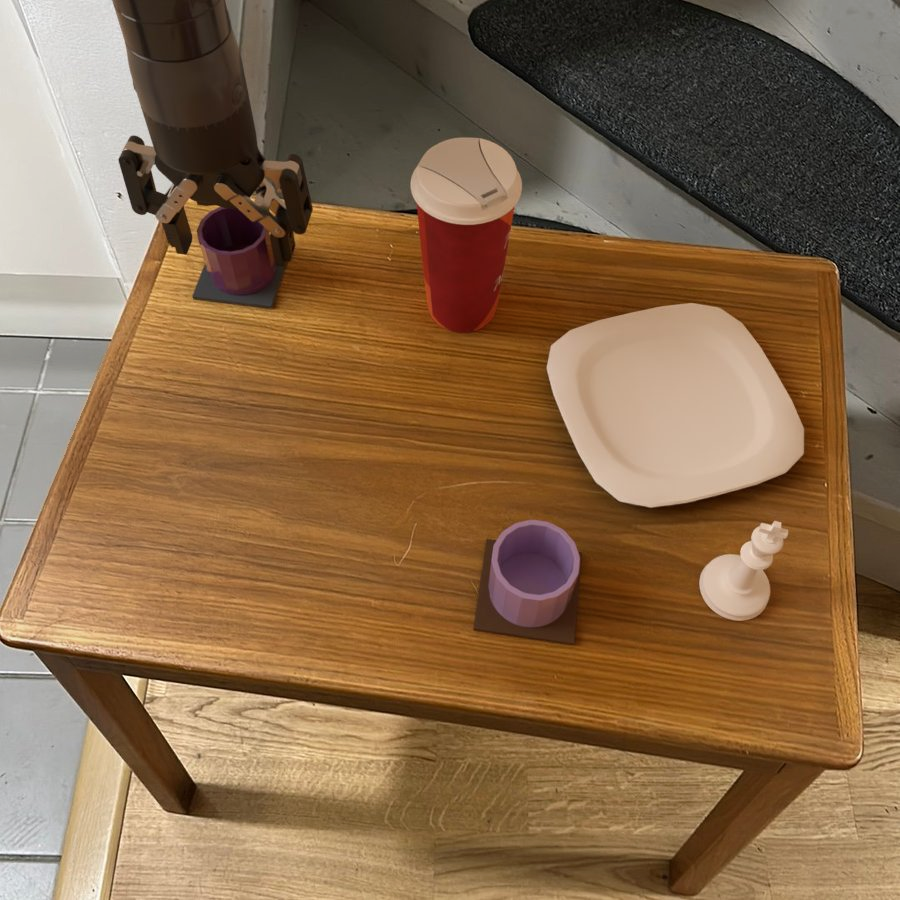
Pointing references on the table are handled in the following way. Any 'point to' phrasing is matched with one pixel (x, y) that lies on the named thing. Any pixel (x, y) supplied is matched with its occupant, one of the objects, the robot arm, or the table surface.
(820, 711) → the table surface
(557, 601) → the lavender faceted cup
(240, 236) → the purple faceted tumbler
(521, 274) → the table surface
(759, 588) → the chess piece
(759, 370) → the plate
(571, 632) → the front mat
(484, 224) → the coffee cup
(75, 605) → the table surface
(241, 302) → the back mat
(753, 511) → the table surface
